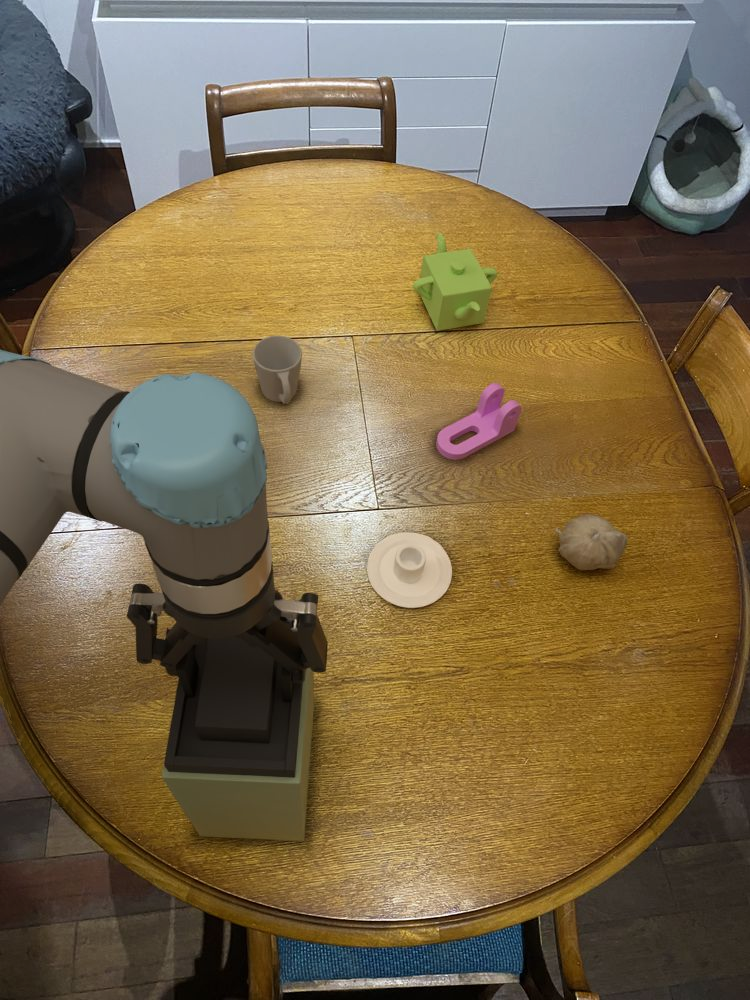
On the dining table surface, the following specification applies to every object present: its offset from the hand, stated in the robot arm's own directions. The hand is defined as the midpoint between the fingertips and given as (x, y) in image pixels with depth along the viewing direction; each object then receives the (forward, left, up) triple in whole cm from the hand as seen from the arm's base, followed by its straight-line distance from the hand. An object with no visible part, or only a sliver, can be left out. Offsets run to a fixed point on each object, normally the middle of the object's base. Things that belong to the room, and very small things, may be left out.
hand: (240, 684), depth 71 cm
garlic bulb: (+43, +32, -29) cm, 61 cm away
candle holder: (+18, +28, -29) cm, 44 cm away
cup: (-3, +59, -29) cm, 66 cm away
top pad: (0, 0, -1) cm, 1 cm away
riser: (0, 0, -29) cm, 29 cm away
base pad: (0, 0, -2) cm, 2 cm away
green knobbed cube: (+25, +81, -29) cm, 90 cm away
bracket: (+28, +53, -29) cm, 67 cm away
